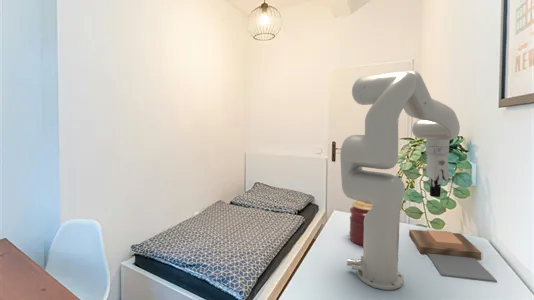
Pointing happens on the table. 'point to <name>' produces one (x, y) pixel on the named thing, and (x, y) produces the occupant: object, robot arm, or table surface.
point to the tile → (444, 239)
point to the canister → (358, 221)
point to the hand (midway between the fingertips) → (434, 196)
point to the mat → (460, 267)
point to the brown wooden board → (428, 247)
